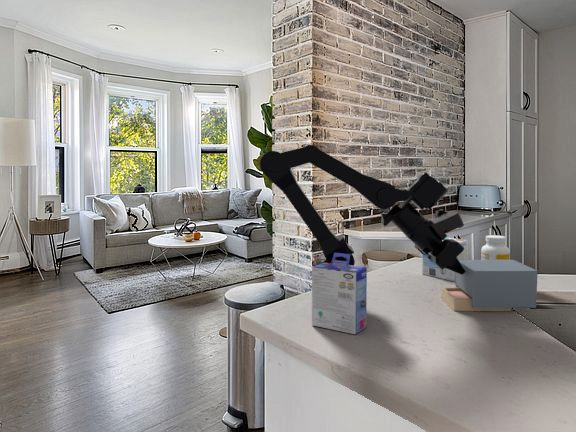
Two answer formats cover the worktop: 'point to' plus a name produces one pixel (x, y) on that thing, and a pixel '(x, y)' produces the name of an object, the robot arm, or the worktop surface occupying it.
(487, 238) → the supplement bottle
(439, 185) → the robot arm
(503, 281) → the sleeve
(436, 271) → the light bulb box
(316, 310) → the ink cartridge box
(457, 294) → the tray
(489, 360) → the worktop surface
